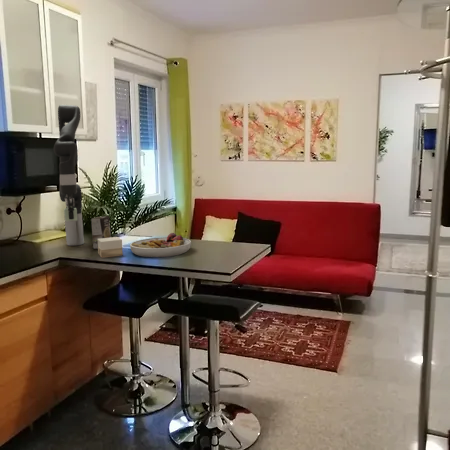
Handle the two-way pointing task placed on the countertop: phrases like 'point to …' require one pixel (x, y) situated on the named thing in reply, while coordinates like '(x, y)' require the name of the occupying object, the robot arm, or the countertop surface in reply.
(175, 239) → the bowl
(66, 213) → the sage cube
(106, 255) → the tower base
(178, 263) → the countertop surface
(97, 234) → the coffee box
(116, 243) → the tower top
